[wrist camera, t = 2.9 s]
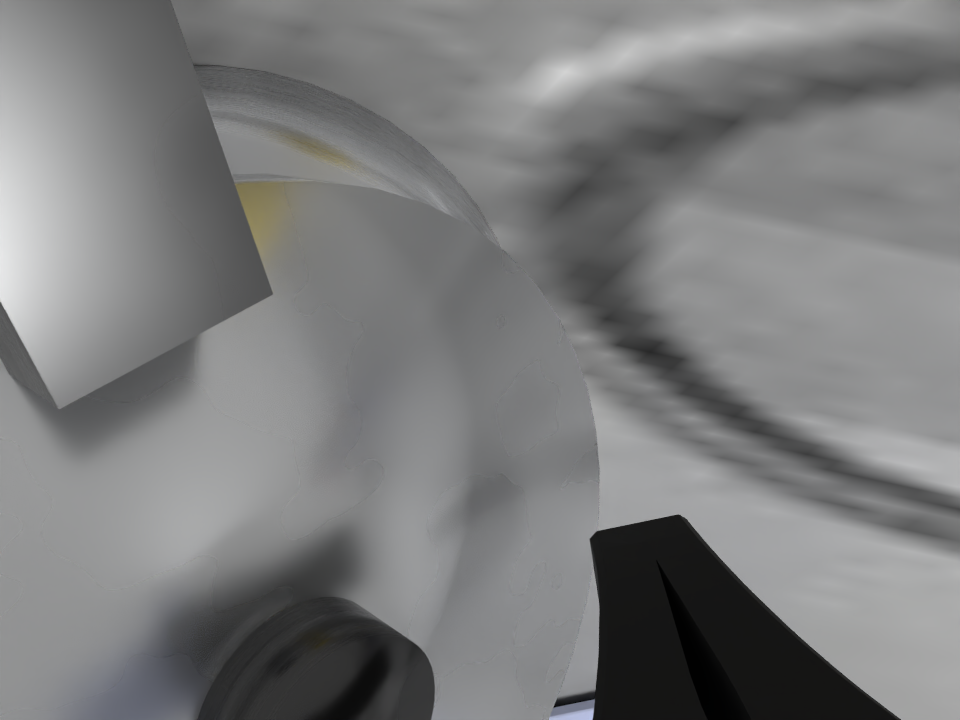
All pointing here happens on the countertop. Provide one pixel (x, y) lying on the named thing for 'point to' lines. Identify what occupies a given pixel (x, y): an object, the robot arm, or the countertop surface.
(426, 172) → the pot
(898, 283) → the countertop surface
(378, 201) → the lid
